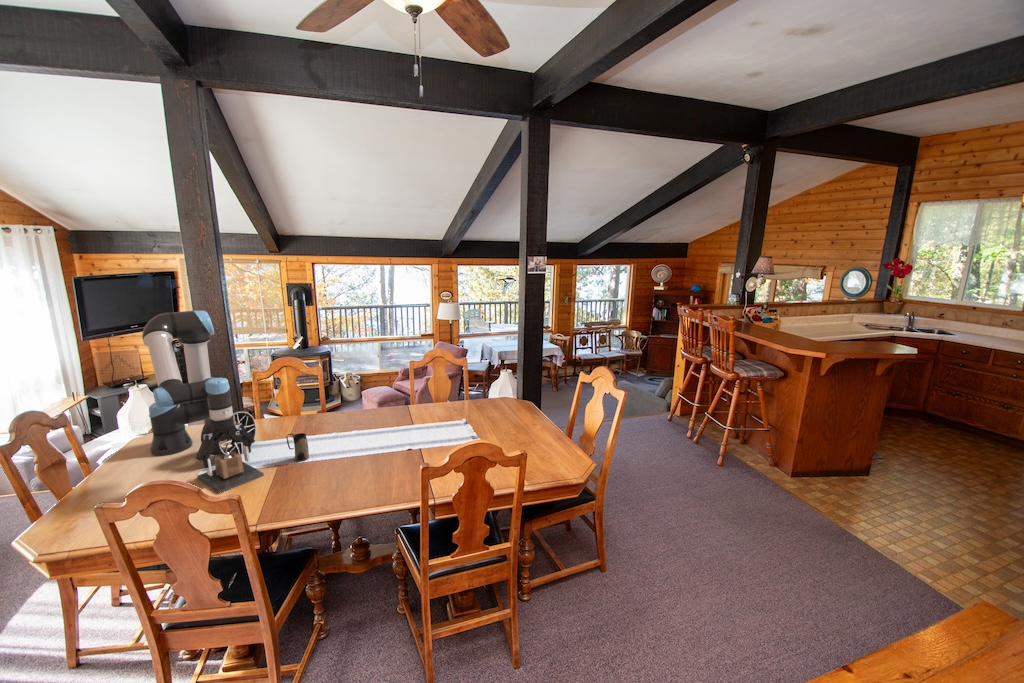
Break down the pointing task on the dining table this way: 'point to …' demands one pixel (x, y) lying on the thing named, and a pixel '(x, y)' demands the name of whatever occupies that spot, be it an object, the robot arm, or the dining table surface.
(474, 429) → the dining table surface
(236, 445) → the wheel rim
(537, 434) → the dining table surface
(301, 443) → the mug
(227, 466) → the hollow wooden cube
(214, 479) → the shaft stand
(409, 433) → the dining table surface
